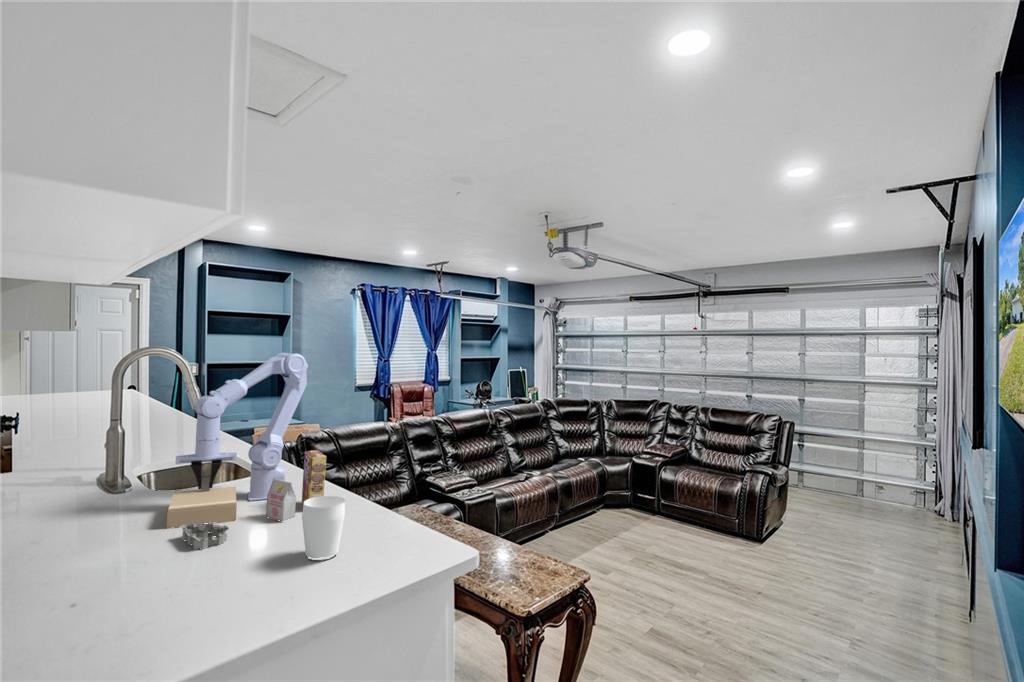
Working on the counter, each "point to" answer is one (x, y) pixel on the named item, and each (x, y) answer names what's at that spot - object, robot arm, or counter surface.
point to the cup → (322, 525)
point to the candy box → (313, 475)
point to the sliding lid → (203, 497)
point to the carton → (201, 515)
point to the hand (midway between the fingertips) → (205, 487)
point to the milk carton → (281, 501)
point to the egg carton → (204, 534)
